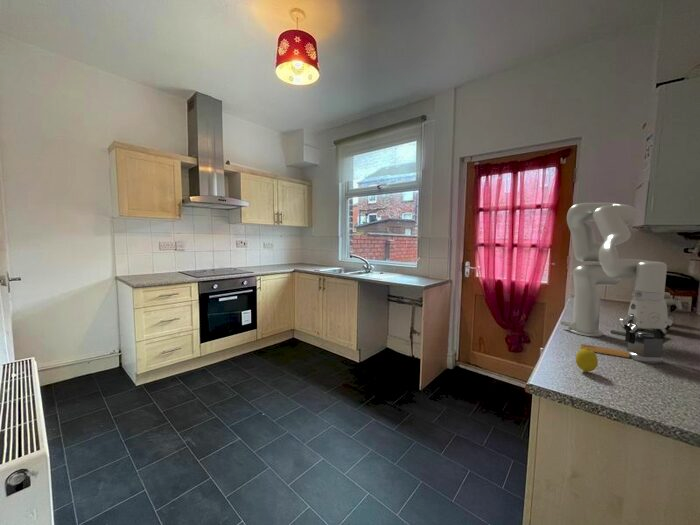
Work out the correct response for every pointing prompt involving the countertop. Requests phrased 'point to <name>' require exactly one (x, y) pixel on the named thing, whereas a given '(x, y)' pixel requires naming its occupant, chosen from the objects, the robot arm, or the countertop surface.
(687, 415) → the countertop surface
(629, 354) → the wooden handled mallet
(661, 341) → the socket
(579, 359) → the lemon
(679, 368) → the countertop surface
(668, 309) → the apothecary jar
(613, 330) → the door handle
